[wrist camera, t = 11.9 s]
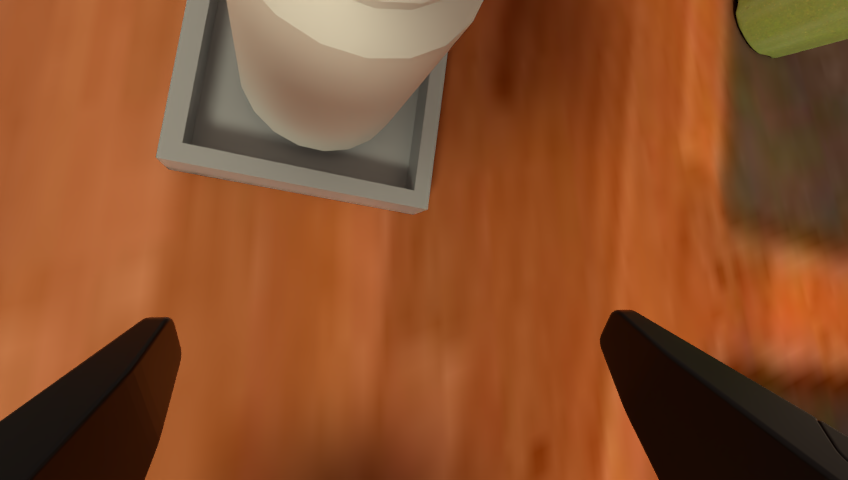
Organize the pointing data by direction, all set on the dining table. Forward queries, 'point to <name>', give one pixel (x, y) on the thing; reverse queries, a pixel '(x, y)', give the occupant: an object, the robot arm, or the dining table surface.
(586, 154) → the dining table surface
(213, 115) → the tray
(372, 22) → the can
